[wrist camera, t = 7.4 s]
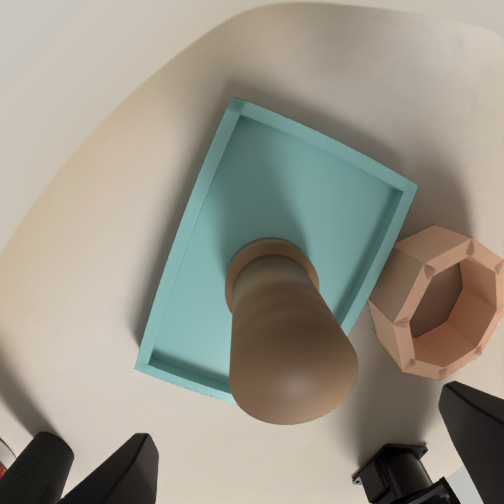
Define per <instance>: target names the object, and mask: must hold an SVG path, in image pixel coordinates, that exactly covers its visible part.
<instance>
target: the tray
mask: <svg viewBox="0 0 504 504" xmlns="http://www.w3.org/2000/svg"><path fill="white" fill-rule="evenodd" d="M417 188H418V185H416V184H415V183H413V182H411V181H410V180H408V179H406V178H405V177H403V176H401V175H400V174H398V173H396V172H394V171H393V170H391V169H389V168H387V167H386V166H384V165H382V164H380V163H379V162H377V161H375V160H373V159H371V158H369V157H367V156H366V155H364V154H362V153H360V152H358V151H356V150H354V149H352V148H350V147H348V146H346V145H344V144H342V143H340V142H338V141H336V140H334V139H332V138H330V137H328V136H326V135H324V134H322V133H320V132H318V131H316V130H313V129H311V128H309V127H307V126H305V125H302V124H300V123H298V122H296V121H293V120H291V119H289V118H286V117H284V116H282V115H279V114H277V113H275V112H272V111H270V110H267V109H265V108H262V107H260V106H257V105H255V104H252V103H250V102H247V101H244V100H242V99H239V98H236V97H234V96H232V98H231V100H230V102H229V104H228V106H227V109H226V111H225V113H224V115H223V118H222V120H221V122H220V125H219V127H218V129H217V132H216V134H215V136H214V139H213V141H212V143H211V146H210V148H209V151H208V153H207V155H206V158H205V160H204V163H203V165H202V168H201V170H200V173H199V175H198V178H197V180H196V183H195V185H194V188H193V191H192V193H191V196H190V198H189V201H188V204H187V206H186V209H185V212H184V214H183V217H182V220H181V223H180V225H179V228H178V231H177V234H176V237H175V239H174V242H173V245H172V248H171V251H170V254H169V257H168V260H167V263H166V265H165V268H164V271H163V274H162V278H161V281H160V284H159V287H158V290H157V293H156V296H155V299H154V303H153V306H152V309H151V312H150V316H149V319H148V322H147V326H146V329H145V332H144V336H143V339H142V343H141V346H140V350H139V353H138V357H137V361H136V364H135V368H134V369H136V370H138V371H140V372H143V373H145V374H148V375H150V376H153V377H156V378H158V379H161V380H163V381H166V382H169V383H171V384H174V385H177V386H180V387H183V388H185V389H188V390H191V391H194V392H197V393H200V394H203V395H206V396H209V397H213V398H216V399H219V400H222V401H226V402H229V403H232V404H236V405H238V404H237V403H236V402H235V400H234V398H233V396H232V394H231V391H230V387H229V366H230V347H231V330H232V314H231V312H230V310H229V308H228V306H227V303H226V299H225V281H226V275H227V269H228V266H229V264H230V262H231V259H232V258H233V256H234V255H235V254H236V253H237V251H238V250H239V249H241V248H242V247H243V246H244V245H246V244H247V243H249V242H251V241H253V240H256V239H260V238H265V237H276V238H281V239H285V240H287V241H289V242H292V243H293V244H295V245H296V246H297V247H299V248H300V249H301V250H302V251H303V253H304V254H305V255H306V256H307V258H308V259H309V260H310V262H311V263H312V264H313V266H314V268H315V270H316V272H317V275H318V278H319V293H320V294H321V296H322V298H323V299H324V301H325V302H326V304H327V306H328V307H329V309H330V310H331V312H332V314H333V315H334V317H335V318H336V320H337V322H338V323H339V325H340V326H341V328H342V330H343V331H344V333H345V335H346V336H348V335H349V333H350V331H351V329H352V327H353V326H354V324H355V322H356V320H357V318H358V316H359V315H360V313H361V311H362V309H363V307H364V305H365V303H366V301H367V299H368V297H369V295H370V294H371V292H372V290H373V288H374V286H375V284H376V282H377V280H378V277H379V275H380V273H381V271H382V269H383V267H384V265H385V263H386V261H387V259H388V257H389V254H390V252H391V250H392V248H393V246H394V243H395V241H396V239H397V237H398V234H399V232H400V230H401V227H402V225H403V223H404V220H405V218H406V216H407V213H408V211H409V208H410V206H411V203H412V201H413V198H414V196H415V193H416V191H417Z"/></svg>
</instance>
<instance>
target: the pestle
mask: <svg viewBox="0 0 504 504" xmlns="http://www.w3.org/2000/svg"><path fill="white" fill-rule="evenodd" d="M225 299H226V303H227V306H228V308H229V310H230V312H231V314H232V330H231V347H230V366H229V387H230V391H231V394H232V396H233V398H234V400H235V402H236V403H237V404H238V406H239V407H240V408H241V409H242V410H243V411H245V412H246V413H247V414H249V415H250V416H252V417H254V418H256V419H258V420H260V421H263V422H267V423H271V424H278V425H293V424H300V423H305V422H309V421H312V420H315V419H317V418H319V417H322V416H323V415H325V414H327V413H329V412H330V411H332V410H333V409H334V408H336V407H337V406H338V405H339V404H340V403H341V402H342V401H343V400H344V399H345V398H346V397H347V395H348V394H349V393H350V391H351V389H352V388H353V385H354V383H355V381H356V377H357V372H358V360H357V355H356V352H355V350H354V348H353V346H352V344H351V343H350V341H349V340H348V338H347V336H346V335H345V333H344V331H343V330H342V328H341V326H340V325H339V323H338V322H337V320H336V318H335V317H334V315H333V314H332V312H331V310H330V309H329V307H328V306H327V304H326V302H325V301H324V299H323V298H322V296H321V294H320V293H319V278H318V275H317V272H316V270H315V268H314V266H313V264H312V263H311V262H310V260H309V259H308V258H307V256H306V255H305V254H304V253H303V251H302V250H301V249H300V248H299V247H297V246H296V245H295V244H293V243H292V242H289V241H287V240H285V239H281V238H276V237H265V238H260V239H256V240H253V241H251V242H249V243H247V244H246V245H244V246H243V247H242V248H241V249H239V250H238V251H237V253H236V254H235V255H234V256H233V258H232V259H231V262H230V264H229V266H228V269H227V275H226V281H225Z"/></svg>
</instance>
